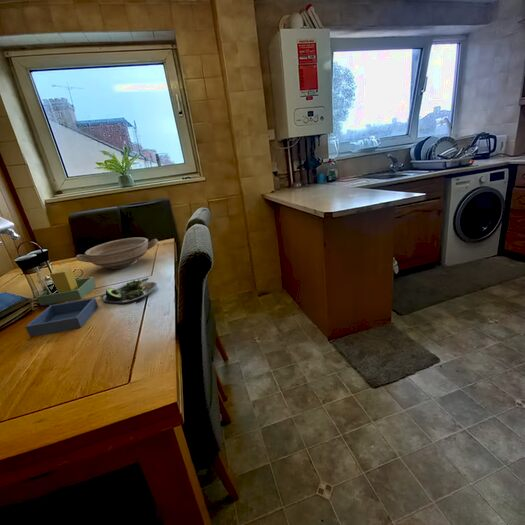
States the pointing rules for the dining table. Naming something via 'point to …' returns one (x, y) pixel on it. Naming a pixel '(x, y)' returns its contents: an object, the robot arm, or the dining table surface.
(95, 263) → the ceramic bowl
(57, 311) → the blue bin
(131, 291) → the salad plate
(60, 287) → the yellow box
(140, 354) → the dining table surface
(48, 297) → the green bin
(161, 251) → the dining table surface
